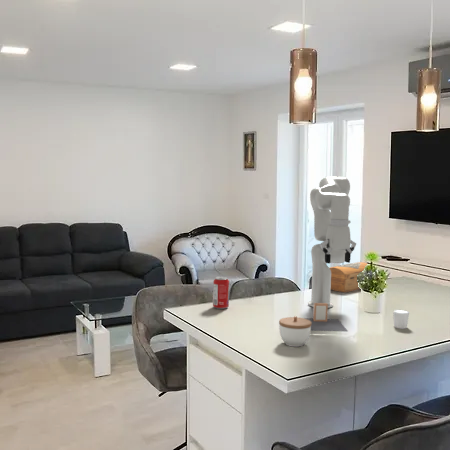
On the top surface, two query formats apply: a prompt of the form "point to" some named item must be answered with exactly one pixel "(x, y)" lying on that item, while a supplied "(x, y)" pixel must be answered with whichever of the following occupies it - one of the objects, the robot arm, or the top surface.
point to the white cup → (400, 318)
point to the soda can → (221, 293)
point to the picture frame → (320, 312)
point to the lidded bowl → (294, 330)
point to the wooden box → (346, 276)
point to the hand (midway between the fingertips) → (337, 262)
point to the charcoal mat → (326, 325)
